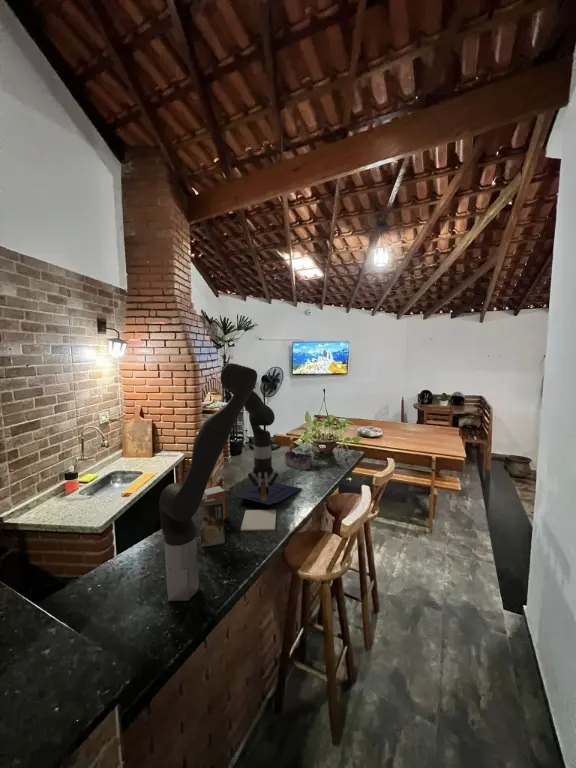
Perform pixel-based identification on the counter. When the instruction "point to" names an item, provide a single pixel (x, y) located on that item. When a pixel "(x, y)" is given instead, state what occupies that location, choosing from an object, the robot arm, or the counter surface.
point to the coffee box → (211, 522)
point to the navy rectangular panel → (275, 493)
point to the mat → (259, 520)
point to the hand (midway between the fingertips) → (263, 494)
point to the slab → (263, 491)
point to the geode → (298, 460)
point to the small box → (215, 495)
